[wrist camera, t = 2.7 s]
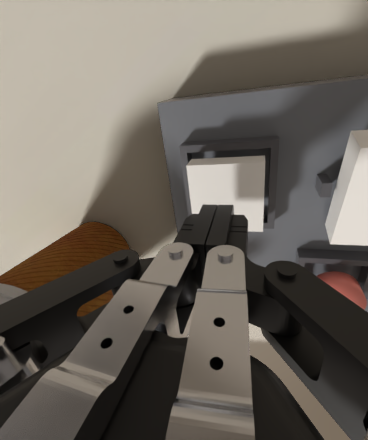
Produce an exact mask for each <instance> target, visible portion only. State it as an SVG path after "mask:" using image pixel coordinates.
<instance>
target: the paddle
mask: <svg viewBox="0 0 368 440" xmlns="http://www.w3.org/2000/svg"><path fill="white" fill-rule="evenodd" d="M186 168H187V176H188V185H189V193H190V201H191V210H192V214H199V212H200V209H201V207H202V205H203V204H206V205H234V215H244V216H245V217H246V218H247V220H248V231H250V232H263V215H264V187H265V155H264V156H244V157H225V158H205V159H191V160H190V161H189V163H188V164H187V165H186Z"/></svg>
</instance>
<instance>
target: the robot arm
mask: <svg viewBox="0 0 368 440" xmlns="http://www.w3.org/2000/svg"><path fill="white" fill-rule="evenodd" d="M247 249H248V220H247V218H246V217H245V216H244V215H234V205H206V204H203V205H202V207H201V209H200V212H199V214H191V215H190V216H189V217H187V218H186V219H185V221H184V223H183V225H182V227H181V229H180V231H179V233H178V235H177V236H176V238H175V240H174V242H173V243H171V244H168V245H166V246H164V247H163V248H161V250H160V251H159V252H158V254H157V255H156V257H154V258H147V259H140V260H139V255H138V253H137V252H135V251H133V250H120V251H116V252H114V253H112V254H110V255H107V256H105V257H103V258H101V259H99V260H97V261H94V262H92V263H90V264H88V265H86V266H83V267H81V268H79V269H77V270H75V271H73V272H70V273H68V274H66V275H64V276H62V277H59V278H57V279H55V280H53V281H51V282H49V283H46V284H44V285H42V286H40V287H38V288H36V289H33V290H31V291H29V292H27V293H25V294H22V295H20V296H18V297H16V298H14V299H12V300H9V301H7V302H5V303H3V304H1V305H0V440H324V439H323V437H322V436H321V435H320V433H319V432H318V430H317V429H316V428H315V426H314V425H313V423H312V422H311V421H310V419H309V418H308V417H307V415H306V414H305V413H304V411H303V410H302V408H301V407H300V405H299V404H298V403H297V401H296V400H295V399H294V397H293V396H292V394H291V393H290V392H289V390H288V389H287V388H286V386H285V385H284V384H283V382H282V381H281V380H280V379H279V378H278V377H277V375H276V374H275V373H274V372H273V371H272V370H271V369H269V368H268V367H267V366H266V365H265V364H263V363H262V362H260V361H259V360H258V359H256V358H254V357H252V356H251V355H250V346H249V345H250V344H249V324H248V323H251V324H253V325H255V326H257V327H260V328H261V331H262V334H263V336H264V337H265V338H266V340H267V341H268V342H269V343H270V344H271V345H272V346H273V348H274V349H275V350H276V351H277V353H278V354H279V355H280V356H281V357H282V358H283V360H284V361H285V362H286V363H287V364H288V366H289V367H290V368H291V369H292V370H293V372H294V373H295V374H296V375H297V376H298V377H299V379H300V380H301V381H302V382H303V383H304V384H305V386H306V387H307V388H308V389H309V390H310V392H311V393H312V394H313V395H314V396H315V398H316V399H317V400H318V401H319V402H320V404H321V405H322V406H323V407H324V408H325V409H326V411H327V412H328V413H329V414H330V415H331V417H332V418H333V419H334V420H335V421H336V423H337V424H338V425H339V426H340V427H341V429H342V430H343V431H344V432H345V433H346V434H347V436H348V437H349V438H350V439H351V440H368V312H367V311H365V310H364V309H362V308H361V307H360V306H358V305H357V304H355V303H354V302H352V301H351V300H350V299H348V298H347V297H345V296H344V295H342V294H341V293H340V292H338V291H337V290H335V289H334V288H333V287H331V286H330V285H328V284H327V283H325V282H324V281H323V280H321V279H320V278H318V277H317V276H315V275H314V274H313V273H311V272H310V271H308V270H307V269H305V268H304V267H303V266H301V265H299V264H297V263H294V262H291V261H274V262H272V263H270V264H268V265H267V266H266V267H263V266H260V265H257V264H255V263H253V262H252V261H250V260H249V259H248V257H247ZM109 290H112V293H113V296H114V297H113V298H112V299H111V301H110V302H108V303H107V304H105V305H103V306H101V307H99V308H98V309H96V310H94V311H92V312H90V313H89V314H87V315H85V316H77V311H78V309H79V308H80V307H81V306H82V305H83V304H85V303H87V302H89V301H91V300H93V299H94V298H96V297H98V296H100V295H102V294H104V293H106V292H108V291H109ZM189 329H190V331H189ZM188 332H189V336H188V337H187V335H188Z"/></svg>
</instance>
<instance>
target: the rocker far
mask: <svg viewBox="0 0 368 440" xmlns="http://www.w3.org/2000/svg"><path fill="white" fill-rule="evenodd" d="M325 226H326V230H327V234H328V238H329V242H330V244H337V245H362V246H368V130H356V131H351V132H350V136H349V140H348V143H347V147H346V151H345V154H344V158H343V161H342V165H341V169H340V172H339V176H338V179H337V183H336V187H335V190H334V194H333V198H332V201H331V205H330V208H329V212H328V216H327V219H326V223H325Z"/></svg>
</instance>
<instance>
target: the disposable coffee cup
mask: <svg viewBox="0 0 368 440" xmlns="http://www.w3.org/2000/svg"><path fill="white" fill-rule="evenodd" d="M120 250H130V249H129V246H128V244H127V242H126V241H125V239H124V238H123V237H122V236H121V235H120V234H119V233H118V232H117V231H116V230H114V229H113V228H111V227H109V226H107V225H105V224H102V223H98V222H88V223H84V224H82V225H81V226H79V227H78V228H76V229H74V230H73V231H71V232H70V233H68V234H66V235H65V236H63V237H61V238H60V239H59V240H57V241H55V242H54V243H52V244H51V245H49V246H47V247H46V248H44V249H43V250H41V251H39V252H38V253H36V254H34V255H33V256H31V257H30V258H28V259H26V260H25V261H23V262H22V263H20V264H19V265H17V266H15V267H14V268H12V269H11V270H9V271H8V272H6V273H4V274H3V275H1V276H0V305H1V304H3V303H5V302H7V301H9V300H12V299H14V298H16V297H18V296H20V295H22V294H25V293H27V292H29V291H31V290H33V289H36V288H38V287H40V286H42V285H44V284H46V283H49V282H51V281H53V280H55V279H57V278H59V277H62V276H64V275H66V274H68V273H70V272H73V271H75V270H77V269H79V268H81V267H83V266H86V265H88V264H90V263H92V262H94V261H97V260H99V259H101V258H103V257H105V256H107V255H110V254H112V253H114V252H116V251H120ZM113 297H114V296H113V293H112V290H109V291H108V292H106V293H104V294H102V295H100V296H98V297H96V298H94V299H93V300H91V301H89V302H87V303H85V304H83V305H82V306H81V307H80V308H79V309H78V311H77V316H85V315H87V314H89V313H90V312H92V311H94V310H96V309H98V308H99V307H101V306H103V305H105V304H107V303H108V302H110V301H111V299H112V298H113Z"/></svg>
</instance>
